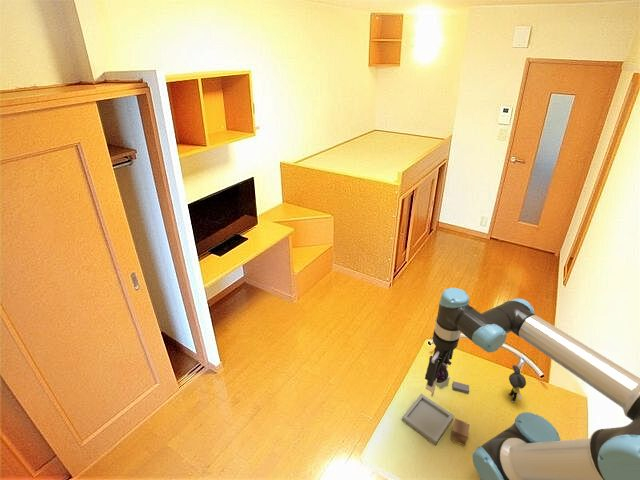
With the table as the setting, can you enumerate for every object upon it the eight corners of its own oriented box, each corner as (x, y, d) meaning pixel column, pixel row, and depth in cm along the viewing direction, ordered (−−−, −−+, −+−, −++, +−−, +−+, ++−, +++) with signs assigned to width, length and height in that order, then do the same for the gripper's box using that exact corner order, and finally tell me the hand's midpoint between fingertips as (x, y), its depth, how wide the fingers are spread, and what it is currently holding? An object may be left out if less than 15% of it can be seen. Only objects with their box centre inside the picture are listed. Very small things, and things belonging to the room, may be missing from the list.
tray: (453, 419, 128) (454, 415, 127) (435, 445, 120) (436, 441, 119) (420, 397, 136) (421, 393, 135) (401, 420, 128) (402, 416, 127)
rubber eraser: (468, 388, 140) (469, 385, 139) (468, 394, 138) (469, 391, 137) (452, 384, 142) (453, 381, 141) (452, 390, 139) (453, 387, 138)
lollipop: (420, 386, 125) (426, 356, 118) (440, 388, 125) (447, 358, 117) (423, 403, 119) (430, 373, 112) (444, 405, 119) (452, 375, 111)
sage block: (447, 385, 141) (449, 376, 139) (440, 389, 140) (442, 380, 137) (440, 378, 144) (442, 369, 142) (433, 381, 143) (435, 373, 140)
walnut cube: (467, 433, 124) (470, 424, 121) (464, 445, 120) (467, 436, 117) (452, 426, 126) (455, 418, 123) (449, 438, 122) (452, 430, 119)
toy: (522, 408, 132) (534, 381, 124) (508, 408, 132) (518, 381, 125) (512, 389, 139) (522, 363, 132) (498, 389, 139) (508, 362, 132)
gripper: (449, 312, 116) (438, 360, 127) (419, 344, 104) (410, 395, 115) (472, 322, 112) (458, 372, 123) (443, 357, 99) (431, 409, 110)
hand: (435, 383), depth 119 cm, fingers closed on lollipop, 7 cm apart
